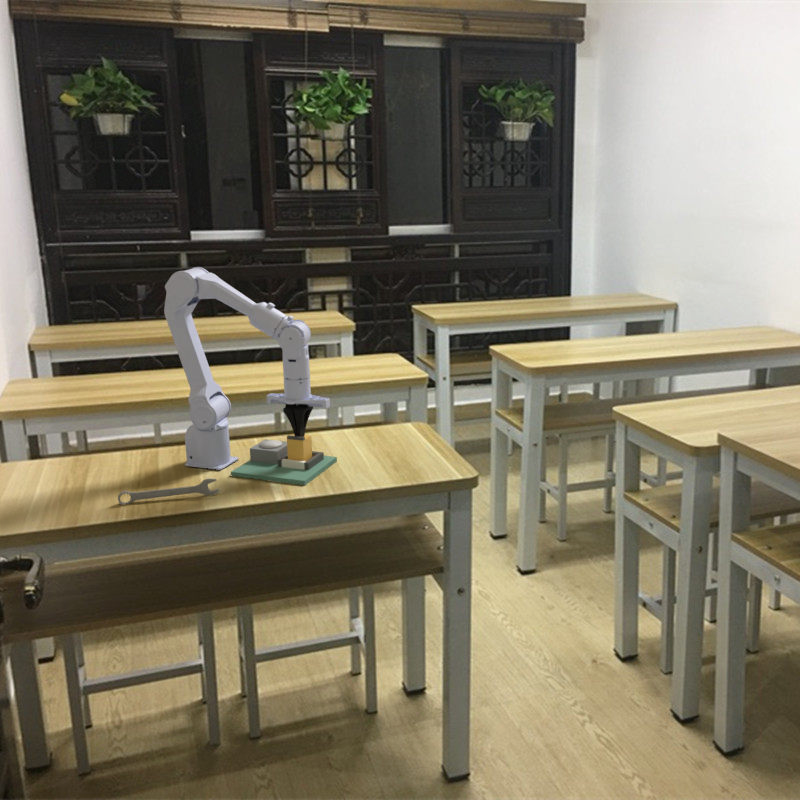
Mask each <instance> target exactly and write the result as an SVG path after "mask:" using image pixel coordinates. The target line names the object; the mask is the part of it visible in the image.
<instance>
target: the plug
mask: <svg viewBox="0 0 800 800" xmlns="http://www.w3.org/2000/svg"><path fill="white" fill-rule="evenodd" d="M312 441H313V440H312V435H311V434H305V436H303V437H300V436H295V435H294V434H293V435H290V434H288V435H287V436H286V442H287V452H288V459H291V460H300V461H307V460H309V459H310V458H312V451H313V448H312V447H313V444H312Z"/></svg>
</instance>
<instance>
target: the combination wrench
mask: <svg viewBox="0 0 800 800" xmlns="http://www.w3.org/2000/svg"><path fill="white" fill-rule="evenodd" d="M216 481H217V479H216V478H204V479H203V480H202V481H201V482H200V483H198V484H196V485H193V486H192V485H190V486H182V487H172V488H162V489H153V490H144V491H143V490H142V491H128V490H123V491H121V492H119V494H118V496H117V501H118V503H119V504H120V505H123V506H124V505H130V504H131V503H133V502H136V501H141V500H147V499H157V498H158V499H159V498H163V497H164V498H165V497H171V496H172V497H173V496H180V495H181V496H182V495H187V494H195V493H196V494H201V495H203V496H206V495H210V496H215V495H216V494H218V493H219V491H221V488H220V487H219V488H216V489H213V490H211V489H210V488H209V484H212V483H213V482H216ZM126 494H127V495H129V496H130V499H129V500H128V502H127V501H126V502H124V501H122V500H121V496H123V495H126ZM214 494H215V495H214Z"/></svg>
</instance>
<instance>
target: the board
mask: <svg viewBox="0 0 800 800" xmlns="http://www.w3.org/2000/svg"><path fill="white" fill-rule="evenodd" d="M249 455H250V456H249V457H250V459H249V460H247V461H246V462H245V463H242V464H241V465H239V466H238V467H236V468H234V469H232V471H230V476H231V475H232V476H231V477H234V476H238V477H237V478H242V477H244V478H243V479H250V478H254V479H253V480H258V479H262V480H261V481H266V480H269V482H274V481H275V482H276V483H283V484H291V485H298V486H306V485H308V484H309V483H310V482H311V481H313V480H314V479H316V476H317V477H319V475H321V474H323V472H324V471H326V470H327V469H329V468H330V467H332V466H333V465H334V464H336V463H337V461H338V456H333V455H332V456H329V455H325V454H324V452H323V451H316V450H315V451H314V450H312V458H310V459H309V460H307V461H300V460H291V459H288V452H287V440H286V441H284V440H275V439H263V440H261V441H260V442H259V443H257V444H255V445H253V446H252V447H250V448H249ZM275 482H274V483H275Z"/></svg>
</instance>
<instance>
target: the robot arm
mask: <svg viewBox="0 0 800 800" xmlns="http://www.w3.org/2000/svg"><path fill="white" fill-rule="evenodd" d="M164 289H165V292H166V295H165V299H164V309H163V313H164V318H165V319H166V322H167V325H168V328H169V330H170V334H171V337H172V340H173V343H174V345H175V348H176V351H177V354H178V357H179V359H180V362H181V365H182V369H183V371H184V374H185V376H186V379H187V383H188V385H189V387H190V388H189V390H190V392H189V396H188V401H187V402H188V403H189V418H190V419H189V420H190V421H191V423H192V424H191V425H189V426H187V427H188V428H187V429H186V431H185V434H184V443H185V444H184V445H185V456H186V463H184V466H185V467H191V468H200V469H207V468H208V470H215V469H216V471H221V470H223V469H225V468H226V467H228V466H230V465H231V464H234V463H235V462H236V461H238V460H239V457H238V456H231V445H230V444H231V443H230V432H229V421H228V418H227V417H228V416H229V415H230V413H231V411H232V404H231V401H230V399H229V398H228V397H227V396H226V395H225V393H224V392H223V389H222V387H221V385H220V384H218V383H217V382H216V381H215V379H214V377H213V375H212V372H211V368H210V366H209V363H208V360H207V357H206V354H205V351H204V348H203V346H202V341H201V339H200V336H199V334H198V331H197V328H196V325H195V322H194V318H193V316H192V314H193V312H194V310H195V308H196V307H197V304H198V303H199V302H200V301H201V300H210V299H211V300H213V299H216V300H217V301H219V302H222V303H223V304H225V305H227V306H228V307H230V308H232V309H233V310H235V311H238V312H239V313H241V314H243V315H244V316H247V318H248V321H249V323H250V326H252V327H254V328H256V329H257V330H259V331H260V332H262V333H264V334H266V335H267V336H268V337H270V338H272V339H274V340H275V341H276V340H277V344H278V345H279V347H280V348H281V350H282V370H283V374H282V375H283V391H284V392H283V393H271V392H270V393H269V394H266V404H268V405H272V404H279V405H285V407H284V408H282V412H283V413H284V414H285V416H286V418H287V420H288V421H289V424H290V427H291V428H292V431H293V435H295V436H300V437H303V436H305V435H306V429H307V428H306V427H307V424H308V421H309V418H310V416H311V413H312V411H313V409H314V408H322V409H325V410H326V409H329V408H330V407H331V400H330V398H329V397H324V396H319V395H314V394H312V392H311V390H312V389H311V369H310V366H311V365H310V353H309V344H308V343H309V342H310V339H311V337H312V332H311V329H310V326H309V325H308V324H307V323H305V321H304V320H302V319H294V318H295V317H294V316H292V315H291V314H290V315H287V314H285V313H284V312H282V311H280V310H278V309H277V308H275V307H276V304H274V303H272V302H268V303H267V302H265V301H262V302H257V303H256V302H255V301H253V300H252V299H251V298H249V297H248V296H246V295H245V294H243V293H242V292H240V291H239V290H237V289H236V288H235V287H233V286H231V285H230V284H229V283H227V282H226V281H224V280H223V279H221V278H220V277H219V276H218V275H216V274H215V273H213V272H209V271H208V270H207V269H205V268H203V267H201V266H196V267H192V268H190V269H186V270H179V271H175V272H174V273H172V275H171V276H170V277H169V279H168V280H167V282H166V283H165V285H164Z"/></svg>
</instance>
